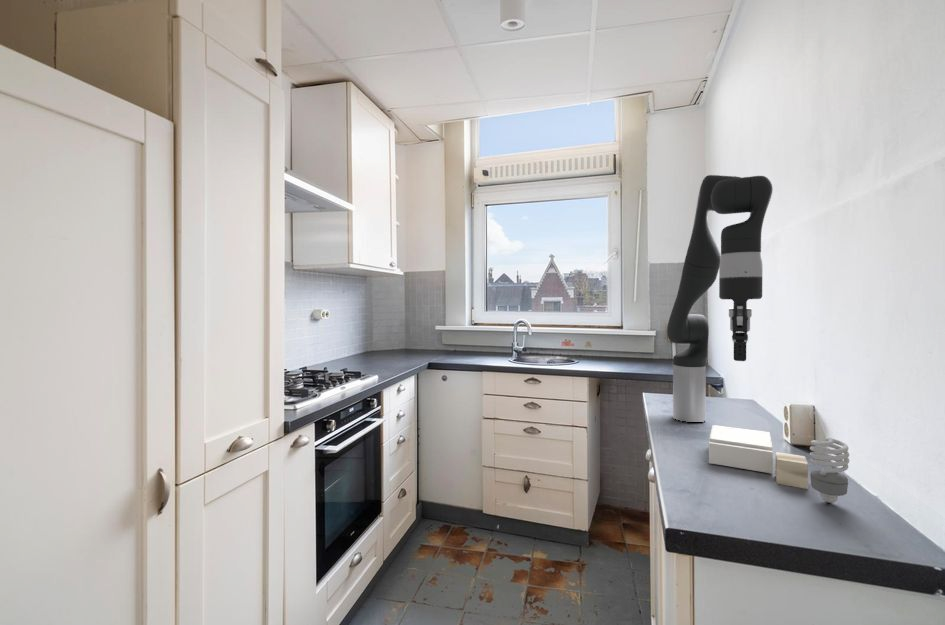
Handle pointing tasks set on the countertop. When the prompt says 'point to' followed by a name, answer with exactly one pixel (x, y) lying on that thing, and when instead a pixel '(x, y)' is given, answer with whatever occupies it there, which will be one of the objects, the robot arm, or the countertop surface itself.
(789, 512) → the countertop surface
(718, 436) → the box
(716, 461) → the tray
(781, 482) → the beige cube block
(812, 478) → the light bulb
